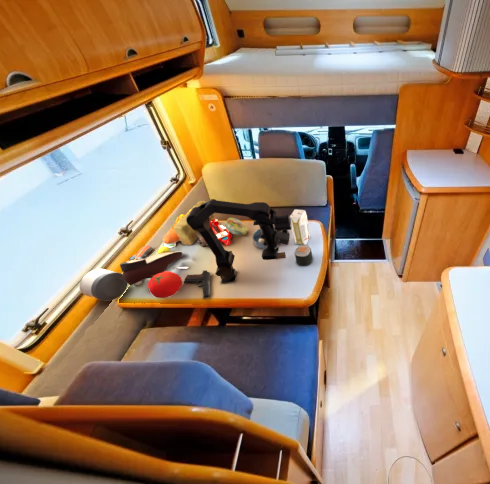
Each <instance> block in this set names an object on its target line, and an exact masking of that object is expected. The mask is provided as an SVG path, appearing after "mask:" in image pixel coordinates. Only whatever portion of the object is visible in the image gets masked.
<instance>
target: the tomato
mask: <svg viewBox="0 0 490 484" xmlns="http://www.w3.org/2000/svg"><path fill="white" fill-rule="evenodd" d="M182 284H183V279H182V276H180V275H179V274H178V273H176V272H173V271H170V270H165V271H164V272H162V273H158V274H156V275H154V276H153V277H152V278H149V280H148V282H147V287H148V291H149V293H150V294H151V295H152V296H153V297H155V298H156V299H167V298H169V297H173V296H175V295H176V294H177V293H178V292H179V291H180V289H181V287H182Z"/></svg>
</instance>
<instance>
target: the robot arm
mask: <svg viewBox="0 0 490 484" xmlns="http://www.w3.org/2000/svg"><path fill="white" fill-rule="evenodd" d="M193 207H194V206H193ZM193 207H192V208H193ZM192 208H191V209H192ZM212 214H213V215H214V214H222V215H231V216H237V217H238V216H240V217H246V218H248V219H251V220H252V221H253V222H252V223H253V226H259V229H260V230H261V233H262V235H261V238H263V239H264V243H263V244H264V245H267V248H265V249H262V252H261V259H262V260H263V261H270V260H269V259H273V260H277V259H276V258H277V256H278V253H279V249H280V247H279V246H278V245H279V244H280V245H285V246H288V245H289V243H290V239H291V234H290V232H289V231H290V230H291V231H292V223H291V218H290V215H289V213H288V214H287V213H286V214H283V215H282V214H281V215H277V211H275V209H273V208H271V207H270V205H269V204H268V203H266V202H263V201H261V202H260V201H258V202H257V201H255V202H251V203H242V202H233V201H232V202H231V201H224V200H217V199H215V198H210V199H208V201H206V203H203V204H202V205H200V206H199V207H194V208H193V209H192V210H191V212H190V213H189V215H188V217H187V219H186V222H187V224H188V225H189V226H190V227H191V228H192V229H193V230H195V231H197V232H199V233H200V234H201V236H202V237H203V239H204V240H205V242H206V243H207V246H209V247H208V248H209V249H210V251H211V252H212V254H213V255H214V257H215V264H216V266H217V268H216V270H215V272H214V274H215V275H216V276H217V277H220V279H221V281H220V283H221V284H229V283H235V282H236V280H237V277H238V271H237V270H236V268H234V266H233V264H234V261H235V257H236V256H235V255H234V253H233V250H226V249H225V247H224V246H223V244H222V243H221V242H220V241H219V239H218V238H217V236H216V234H215V233H214V231H213V230H212V228H211V226H210V221H209V217H210V216H211V215H212ZM274 227H275V228H274Z"/></svg>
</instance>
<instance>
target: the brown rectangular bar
mask: <svg viewBox="0 0 490 484" xmlns="http://www.w3.org/2000/svg"><path fill="white" fill-rule="evenodd" d="M286 258H287V254H286V252H285V251H282V252H278V256H277V258H276V259H275V260H281V259H286ZM271 260H274V259H269V260H268V261H271Z"/></svg>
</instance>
